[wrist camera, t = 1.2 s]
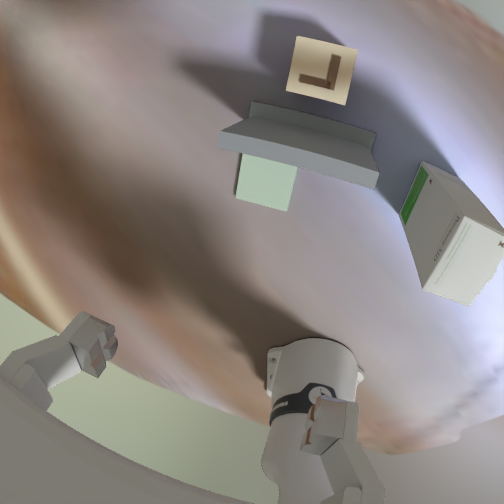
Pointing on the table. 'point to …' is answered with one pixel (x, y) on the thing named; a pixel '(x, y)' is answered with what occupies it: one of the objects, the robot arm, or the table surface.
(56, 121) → the table surface
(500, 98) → the table surface
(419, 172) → the skincare box
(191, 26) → the table surface
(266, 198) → the coaster
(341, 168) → the screen
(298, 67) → the letter cube
